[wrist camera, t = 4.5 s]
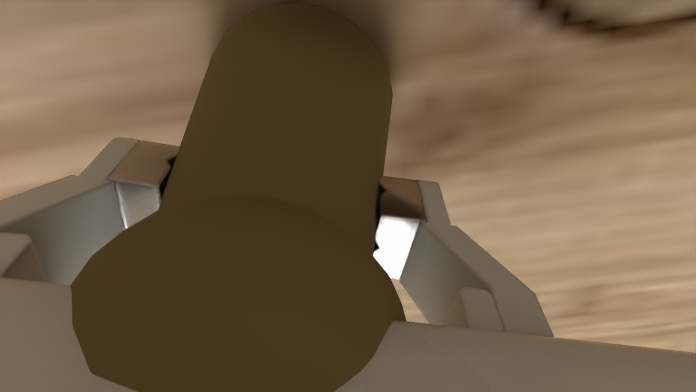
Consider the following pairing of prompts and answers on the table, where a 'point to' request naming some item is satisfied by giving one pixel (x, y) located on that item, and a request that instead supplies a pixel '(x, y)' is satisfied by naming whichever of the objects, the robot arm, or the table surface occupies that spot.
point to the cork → (256, 225)
